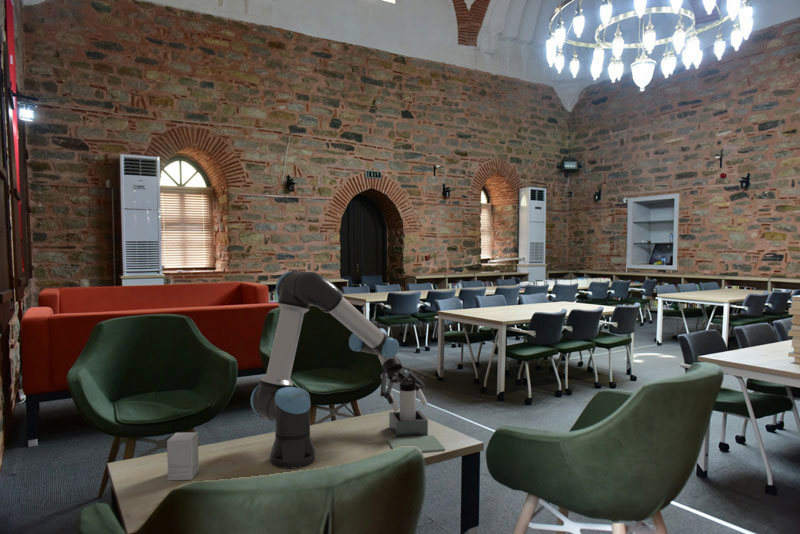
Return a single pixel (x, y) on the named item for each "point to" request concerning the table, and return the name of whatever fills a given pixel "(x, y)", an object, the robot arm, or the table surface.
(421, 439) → the mat
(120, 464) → the table surface
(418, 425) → the sleeve
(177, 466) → the supplement box
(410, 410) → the travel mug
